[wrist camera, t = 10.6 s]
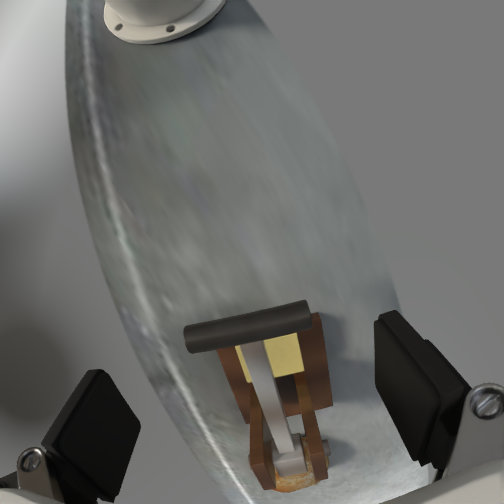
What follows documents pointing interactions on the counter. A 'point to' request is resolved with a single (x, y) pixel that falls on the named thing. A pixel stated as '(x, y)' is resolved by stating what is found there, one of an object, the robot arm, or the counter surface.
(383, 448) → the counter surface
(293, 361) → the butter
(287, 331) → the arm
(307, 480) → the bread roll
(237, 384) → the cutter
